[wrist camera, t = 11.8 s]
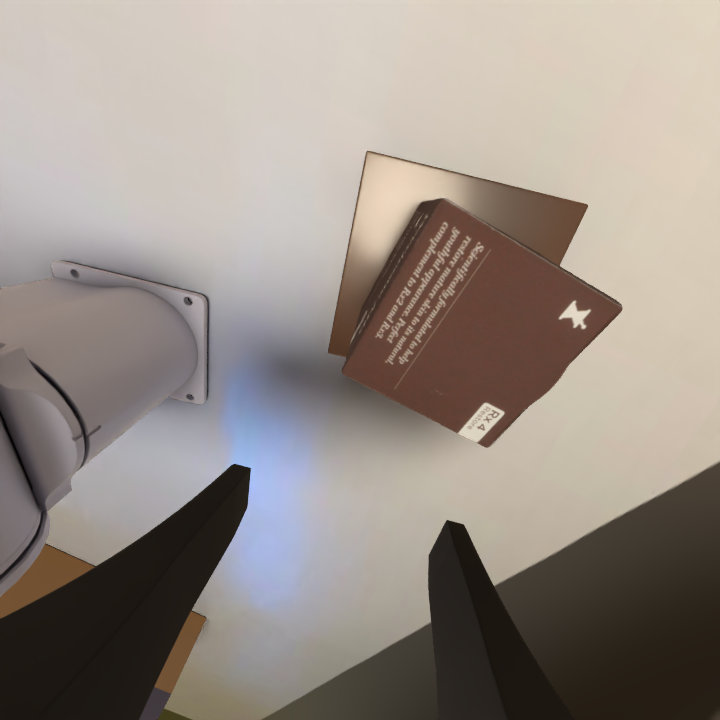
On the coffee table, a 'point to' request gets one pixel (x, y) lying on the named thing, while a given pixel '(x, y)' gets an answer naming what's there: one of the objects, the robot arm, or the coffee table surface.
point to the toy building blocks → (63, 568)
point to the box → (471, 323)
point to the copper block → (422, 183)
